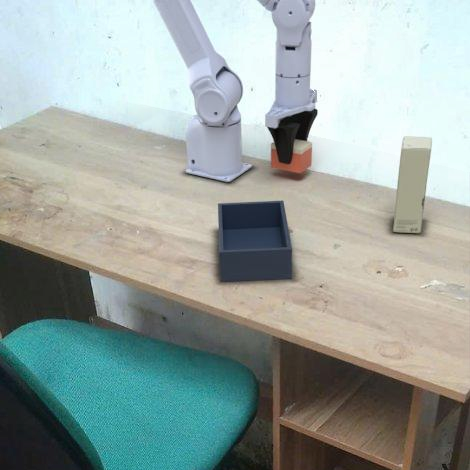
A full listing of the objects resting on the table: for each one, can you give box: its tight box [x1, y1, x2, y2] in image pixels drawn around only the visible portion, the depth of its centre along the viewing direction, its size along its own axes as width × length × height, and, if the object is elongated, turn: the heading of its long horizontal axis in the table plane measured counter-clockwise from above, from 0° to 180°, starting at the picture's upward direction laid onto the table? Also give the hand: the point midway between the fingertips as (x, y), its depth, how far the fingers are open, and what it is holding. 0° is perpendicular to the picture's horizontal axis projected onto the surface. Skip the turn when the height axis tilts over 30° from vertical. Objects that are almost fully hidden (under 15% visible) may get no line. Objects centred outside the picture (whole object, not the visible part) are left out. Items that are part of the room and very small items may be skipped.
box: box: [392, 135, 433, 234], centre depth 121 cm, size 5×4×13 cm
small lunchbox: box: [270, 139, 313, 174], centre depth 138 cm, size 6×4×4 cm, turn 58°
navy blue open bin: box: [217, 200, 293, 283], centre depth 119 cm, size 16×10×5 cm, turn 2°
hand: (291, 158), depth 139 cm, fingers closed on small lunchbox, 4 cm apart
